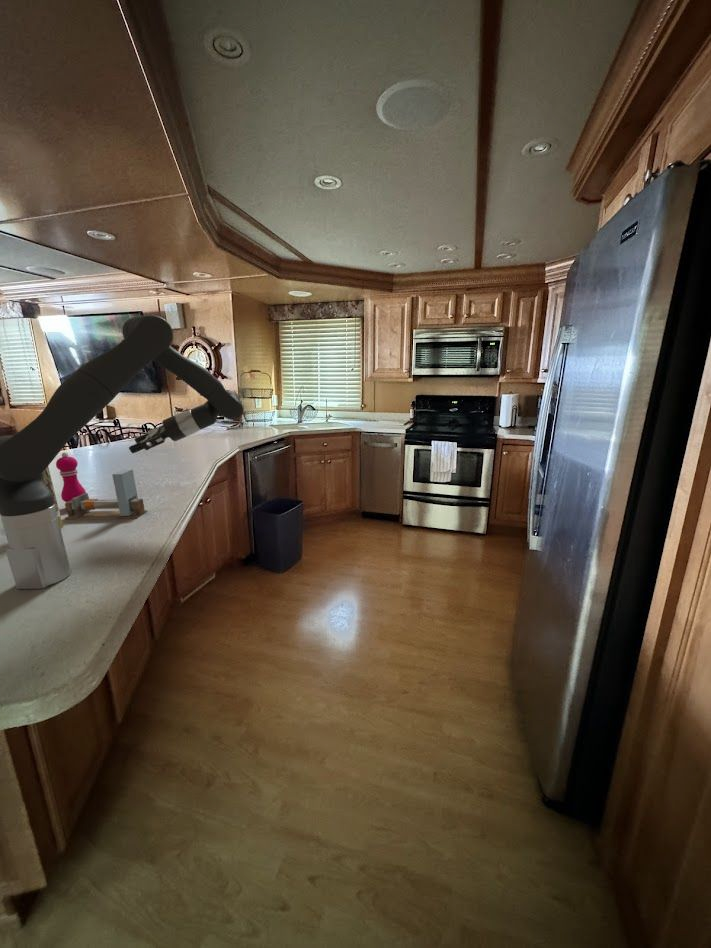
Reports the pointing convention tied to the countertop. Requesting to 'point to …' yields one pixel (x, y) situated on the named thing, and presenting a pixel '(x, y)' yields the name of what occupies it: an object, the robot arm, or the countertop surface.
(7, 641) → the countertop surface
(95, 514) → the rail
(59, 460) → the pepper mill
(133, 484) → the light blue block
